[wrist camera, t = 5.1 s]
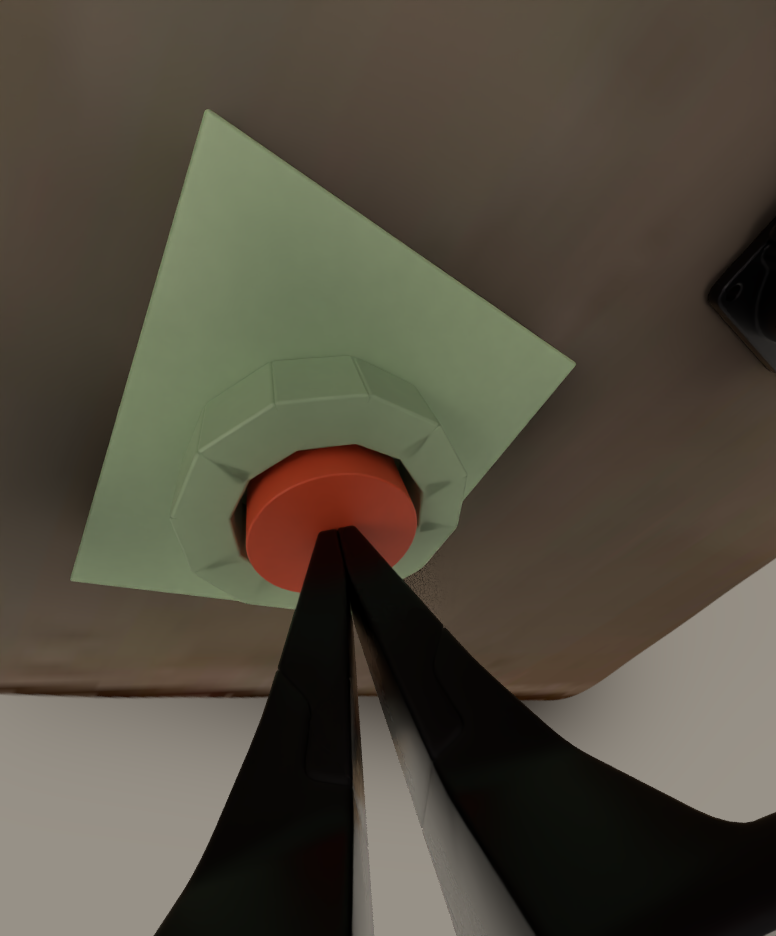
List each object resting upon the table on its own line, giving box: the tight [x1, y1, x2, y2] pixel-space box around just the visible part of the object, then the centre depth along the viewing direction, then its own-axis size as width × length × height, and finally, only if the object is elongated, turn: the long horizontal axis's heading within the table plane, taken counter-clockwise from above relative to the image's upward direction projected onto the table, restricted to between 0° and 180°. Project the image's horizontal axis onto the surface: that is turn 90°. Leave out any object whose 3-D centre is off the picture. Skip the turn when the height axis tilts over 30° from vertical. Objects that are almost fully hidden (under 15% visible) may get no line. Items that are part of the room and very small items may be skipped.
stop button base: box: [70, 109, 576, 613], centre depth 11 cm, size 10×12×4 cm
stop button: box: [246, 444, 417, 593], centre depth 10 cm, size 4×4×2 cm
